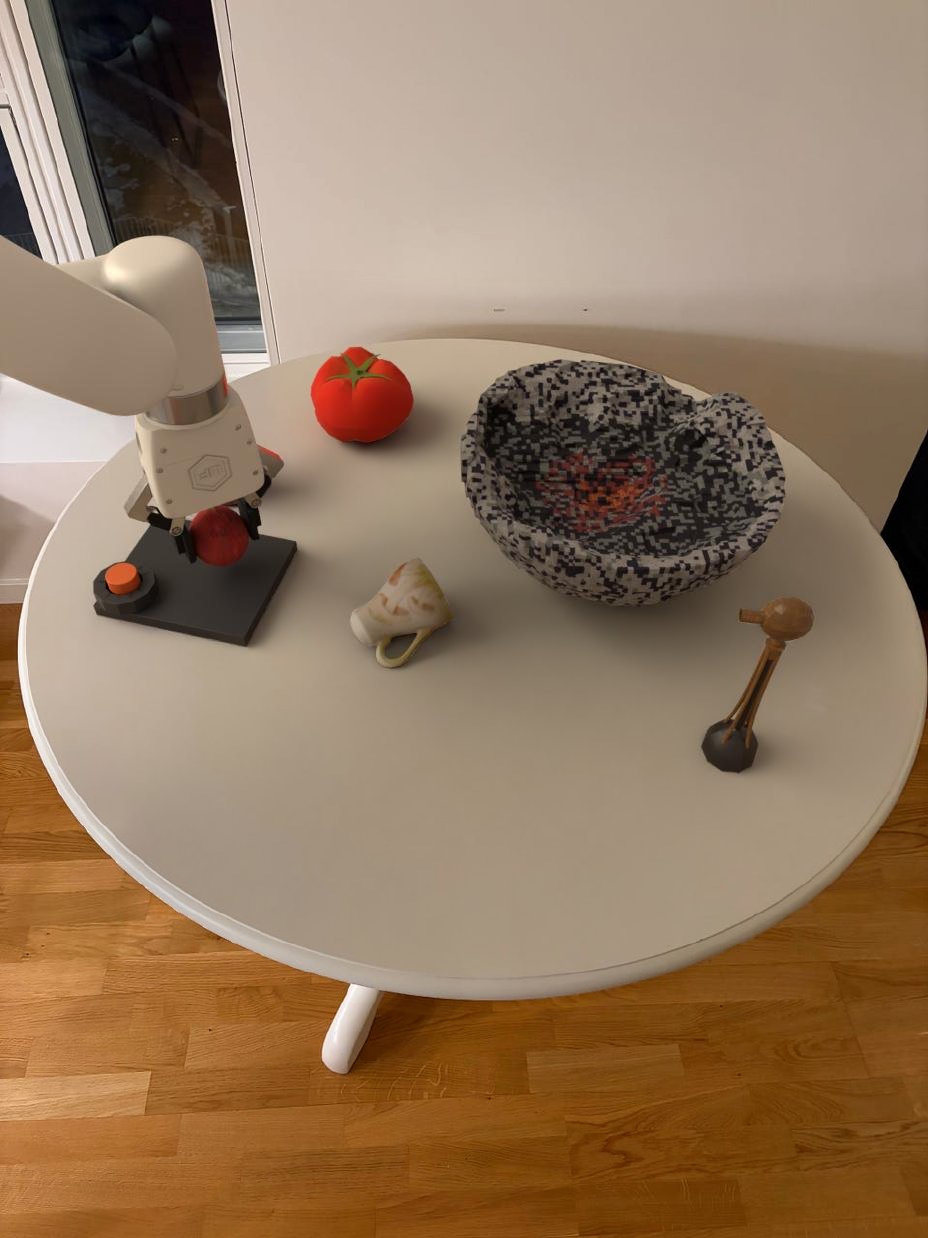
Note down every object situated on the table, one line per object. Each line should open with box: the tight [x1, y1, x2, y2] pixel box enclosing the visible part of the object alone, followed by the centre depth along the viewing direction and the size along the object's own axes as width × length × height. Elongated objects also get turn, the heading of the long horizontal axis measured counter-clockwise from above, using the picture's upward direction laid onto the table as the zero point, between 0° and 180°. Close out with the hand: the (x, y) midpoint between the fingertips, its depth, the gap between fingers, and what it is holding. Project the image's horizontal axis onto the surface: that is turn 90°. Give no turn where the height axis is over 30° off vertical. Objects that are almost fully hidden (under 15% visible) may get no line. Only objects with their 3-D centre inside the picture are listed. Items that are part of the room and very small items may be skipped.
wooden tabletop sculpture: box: [700, 596, 816, 774], centre depth 74 cm, size 6×5×20 cm
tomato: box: [310, 346, 415, 443], centre depth 108 cm, size 13×12×8 cm
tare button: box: [105, 563, 140, 595], centre depth 89 cm, size 3×3×2 cm
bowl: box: [460, 358, 787, 607], centre depth 92 cm, size 31×31×15 cm
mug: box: [349, 557, 455, 668], centre depth 88 cm, size 8×10×10 cm
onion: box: [189, 505, 249, 567], centre depth 89 cm, size 6×6×8 cm
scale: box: [92, 518, 299, 648], centre depth 92 cm, size 16×14×3 cm
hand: (220, 541), depth 90 cm, fingers closed on onion, 5 cm apart
